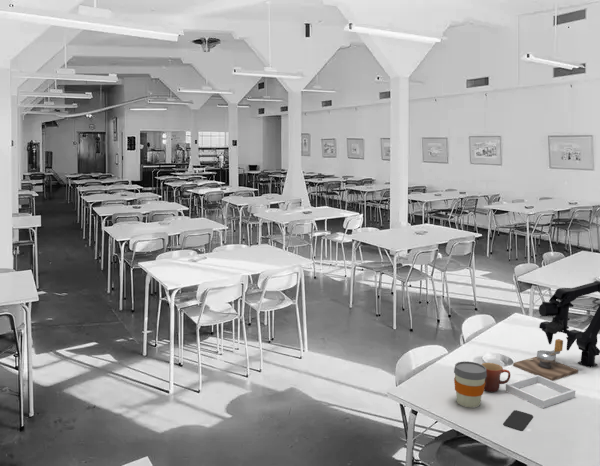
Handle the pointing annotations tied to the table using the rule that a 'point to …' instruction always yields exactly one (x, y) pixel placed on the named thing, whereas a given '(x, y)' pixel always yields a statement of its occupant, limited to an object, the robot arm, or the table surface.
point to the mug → (494, 377)
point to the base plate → (545, 368)
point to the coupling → (550, 353)
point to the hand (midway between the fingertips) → (558, 347)
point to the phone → (518, 420)
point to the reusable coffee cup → (469, 383)
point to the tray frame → (513, 389)
